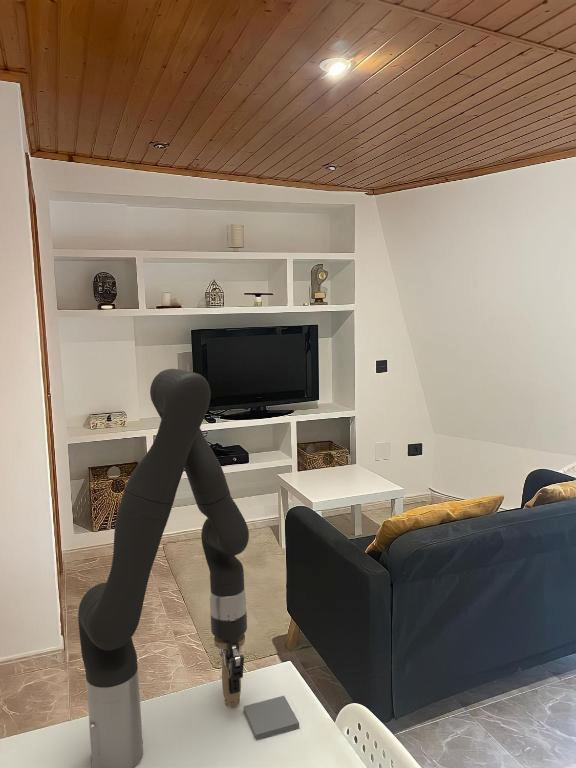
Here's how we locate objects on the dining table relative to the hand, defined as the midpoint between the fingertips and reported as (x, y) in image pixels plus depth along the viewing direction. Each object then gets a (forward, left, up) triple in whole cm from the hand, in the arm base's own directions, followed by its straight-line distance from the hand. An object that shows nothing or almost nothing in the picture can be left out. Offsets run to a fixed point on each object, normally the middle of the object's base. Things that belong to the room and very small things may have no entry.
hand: (231, 685), depth 125 cm
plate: (+6, -8, -4) cm, 11 cm away
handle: (0, 0, -4) cm, 4 cm away
